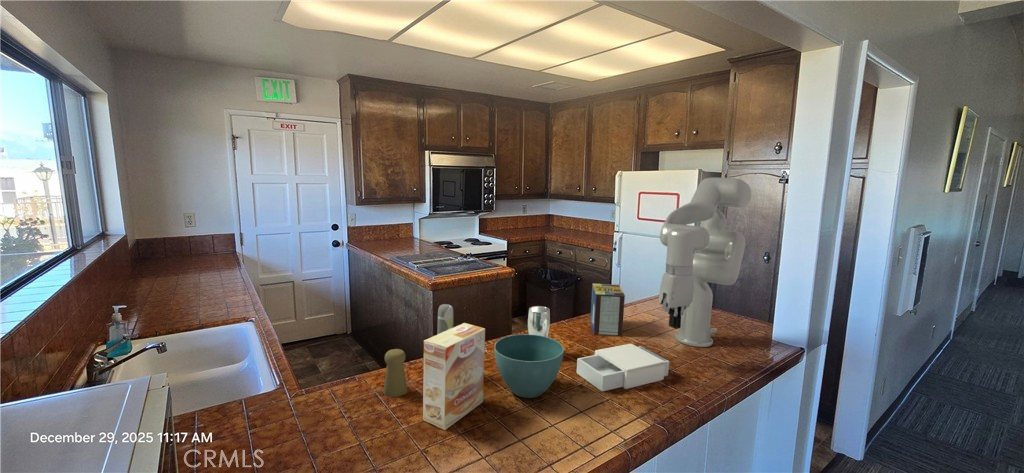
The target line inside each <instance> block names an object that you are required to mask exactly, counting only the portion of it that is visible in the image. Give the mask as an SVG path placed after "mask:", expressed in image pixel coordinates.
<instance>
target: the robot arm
mask: <svg viewBox="0 0 1024 473" xmlns="http://www.w3.org/2000/svg"><path fill="white" fill-rule="evenodd" d="M699 182H700V183H699V184H698V186H697V187H696V189H695V192H694V193H693V196H692V198H691V200H690V202H689V203H686V204H683V205H682V206H680V207H678V208H677V209H674V210H673V211H672V212H670V213H669V214H668V216H667V217H666V219H665V220H664V223H663V225H662V226H661V230H660V233H659V241H660V243H661V244H662V246H665V247H666V258H665V260H666V261H665V273H663V275H662V277H661V278H662V279H661V281H660V286H659V294H658V305H662V306H661V311H663V312H664V313H665V312H666V313H667V314H668V315H669V317H668V326H669V327H671V328H672V329H675V330H678V329H679V331H676V332H675V333H674V339H675V340H676V341H677V342H679V343H681V344H684V345H686V346H690V347H691V346H692V347H694V348H695V347H697V348H708V347H711V346H713V344H714V340H713V338H712V337H711V335H714V334H717V333H718V329H717V328H716V327H711V319H712V318H711V317H712V308H713V307H712V306H713V298H714V295H713V290H712V289H711V287H710V285H709V284H708V283H711V284H718V285H725V286H733V285H734V284H735V283H736V281H737V280H738V278H739V275H740V270H741V265H742V262H743V258H744V254H745V250H746V239H745V236H744V234H743V233H742V232H740V231H737V230H729V229H726V228H727V224H728V220H727V217H726V216H725V214H724V213H723V212H722V211H721V210H720V209H719V208H718V207H727V208H746V207H747V206H748V205H749V203H750V202H751V199H752V190H751V187H750V185H749V184H748V183H747V182H746V181H745V180H742V179H740V178H737V177H706V178H704V179H702V180H701V181H699ZM696 223H700V224H699V225H692V224H696Z"/></svg>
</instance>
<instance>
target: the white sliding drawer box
mask: <svg viewBox="0 0 1024 473" xmlns="http://www.w3.org/2000/svg"><path fill="white" fill-rule="evenodd" d="M638 347H639V348H641V349H642V350H644V351H646V352H648V353H650V354H652V355H654V356H656V357H658V358H660V359H661V360H663V361H665V368H664V377H667V376H669V370H670V361H669V360H667V359H666V358H664V357H662V356H660V355H659V354H656V353H655V352H652V351H651V350H649V349H646V348H645V347H643V346H641V345H640V346H638ZM576 374H577V375H579V376H580V377H581V378H583V379H584V380H586V381H587V382H588V383H590V384H591V385H592V386H594V387H595V388H596V389H597V390H599V391H601V392H606V391H610V390H614V389H619V388H624V375H625V371H623V370H621V369H620V368H618V367H617V366H615V365H613V364H612V363H610V362H609V361H607V360H605V359H604V358H602V357H601V356H599V355H595V354H593V355H589V356H584V357H578V358H577V360H576Z"/></svg>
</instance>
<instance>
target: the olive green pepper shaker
mask: <svg viewBox="0 0 1024 473" xmlns="http://www.w3.org/2000/svg"><path fill="white" fill-rule="evenodd" d="M406 356H407V355H406V353H405V351H404V350H403V349H400V348H394V349H389V350H387V352H386V353H385V354H384V362H385V364H386V369H385V376H384V384H383V391H382V392H383V394H384V396H385V397H390V398H398V397H400V396H403V395H405V394H406V393H407V392H408V386H407V385H408V384H407V379H406V378H407V377H406V372H405V366H404V363H405V361H406Z"/></svg>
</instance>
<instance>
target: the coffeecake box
mask: <svg viewBox="0 0 1024 473" xmlns="http://www.w3.org/2000/svg"><path fill="white" fill-rule="evenodd" d="M485 342H486V328H484V327H481V326H477V325H474V324H470V323H466V322H463V323H461V324H458V325H456V326H454V328H451V329H449V330H447V331H445V332H442V333H440V334H438V335H437V334H436V335H433V336H431V337H429V338H427V339H424V340H423V378H422V379H423V381H422V384H423V388H422V389H423V390H422V392H423V394H422V398H423V400H422V405H423V406H422V410H423V411H422V421H424V422H426V423H429V424H431V425H433V426H435V427H436V428H439V429H441V430H443V431H446V430H447V429H448V428H450V427H451V426H453V425H454V424H455V423H456V422H458V421H460V420H461V419H462V418H464V417H465V416H466V415H468V414H469V413H470V412H471V411H473V410H474V409H475V408H477V407H478V406H480V405H481V404H482V403H484V383H485V382H484V376H485V350H486V349H485V348H486V347H485V344H486V343H485Z"/></svg>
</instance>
